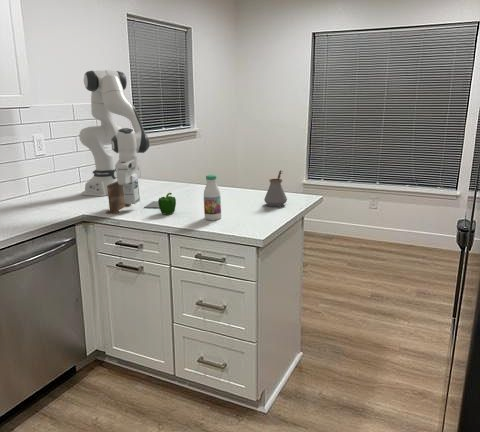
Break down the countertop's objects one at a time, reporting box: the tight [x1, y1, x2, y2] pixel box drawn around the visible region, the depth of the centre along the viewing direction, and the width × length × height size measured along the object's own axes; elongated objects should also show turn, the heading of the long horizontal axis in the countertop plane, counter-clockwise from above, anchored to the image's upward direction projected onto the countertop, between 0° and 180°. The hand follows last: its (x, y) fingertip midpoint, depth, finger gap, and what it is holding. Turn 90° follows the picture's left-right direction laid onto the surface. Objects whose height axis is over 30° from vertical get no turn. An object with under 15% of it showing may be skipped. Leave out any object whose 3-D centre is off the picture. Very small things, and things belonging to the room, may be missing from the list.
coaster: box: [144, 200, 160, 209], centre depth 235 cm, size 12×12×1 cm
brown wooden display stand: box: [105, 181, 132, 215], centre depth 227 cm, size 6×16×14 cm, turn 169°
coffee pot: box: [263, 170, 288, 208], centre depth 232 cm, size 21×12×15 cm, turn 165°
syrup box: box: [123, 173, 141, 205], centre depth 225 cm, size 6×6×14 cm
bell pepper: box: [157, 192, 177, 216], centre depth 217 cm, size 8×8×10 cm
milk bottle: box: [203, 174, 222, 221], centre depth 206 cm, size 8×8×20 cm
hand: (131, 190), depth 225 cm, fingers closed on syrup box, 6 cm apart
